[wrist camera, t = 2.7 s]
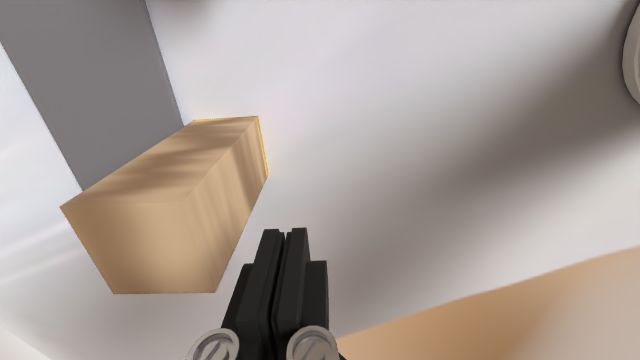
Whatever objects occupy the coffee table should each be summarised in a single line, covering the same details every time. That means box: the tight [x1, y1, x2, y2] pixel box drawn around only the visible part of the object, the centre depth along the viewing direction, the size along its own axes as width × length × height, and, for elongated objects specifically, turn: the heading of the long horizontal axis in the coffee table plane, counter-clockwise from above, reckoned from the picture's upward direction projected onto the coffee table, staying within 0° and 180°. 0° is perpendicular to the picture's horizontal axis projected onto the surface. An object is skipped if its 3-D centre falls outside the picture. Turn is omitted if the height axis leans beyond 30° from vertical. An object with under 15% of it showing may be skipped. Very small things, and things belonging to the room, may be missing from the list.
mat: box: [0, 0, 184, 191], centre depth 23 cm, size 10×24×1 cm, turn 4°
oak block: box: [60, 116, 268, 294], centre depth 17 cm, size 5×5×12 cm
